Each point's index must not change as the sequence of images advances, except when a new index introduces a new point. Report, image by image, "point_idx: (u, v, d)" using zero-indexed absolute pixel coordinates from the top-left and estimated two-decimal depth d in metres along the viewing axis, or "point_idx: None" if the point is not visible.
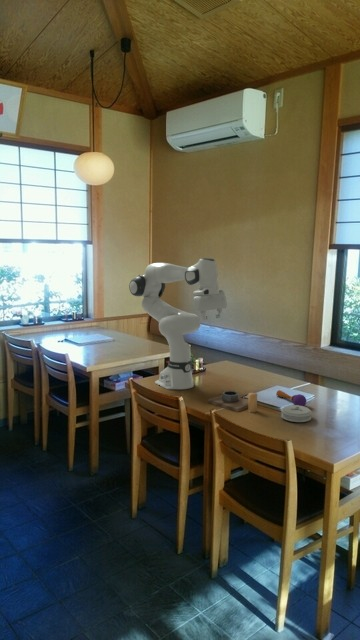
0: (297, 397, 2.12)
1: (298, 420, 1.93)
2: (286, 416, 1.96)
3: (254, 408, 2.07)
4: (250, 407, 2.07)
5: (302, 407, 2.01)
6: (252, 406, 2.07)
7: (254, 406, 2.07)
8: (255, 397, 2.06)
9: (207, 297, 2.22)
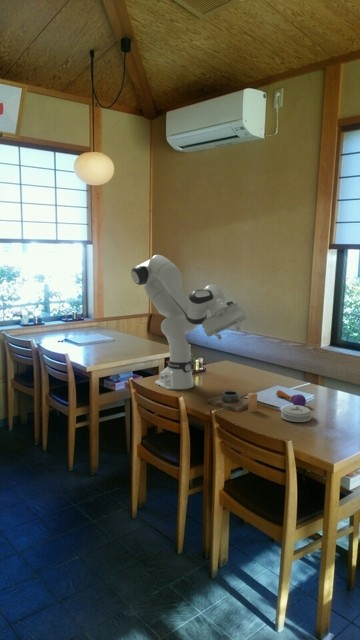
0: (296, 397, 2.12)
1: (298, 420, 1.93)
2: (286, 416, 1.96)
3: (254, 408, 2.07)
4: (250, 407, 2.07)
5: (302, 407, 2.01)
6: (252, 406, 2.07)
7: (254, 406, 2.07)
8: (255, 397, 2.06)
9: None
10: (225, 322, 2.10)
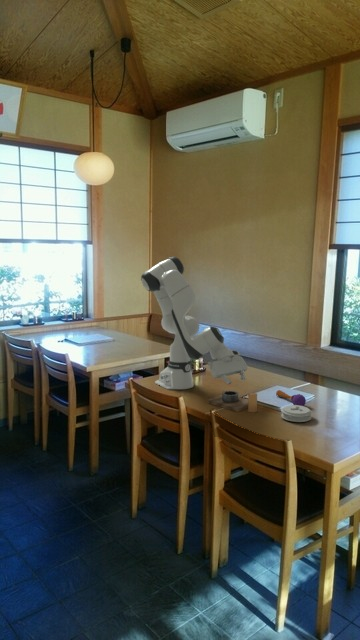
0: (296, 397, 2.13)
1: (298, 419, 1.93)
2: (286, 416, 1.96)
3: (254, 408, 2.07)
4: (250, 407, 2.07)
5: (302, 407, 2.01)
6: (252, 406, 2.07)
7: (254, 406, 2.07)
8: (255, 397, 2.06)
9: None
10: (233, 369, 2.15)
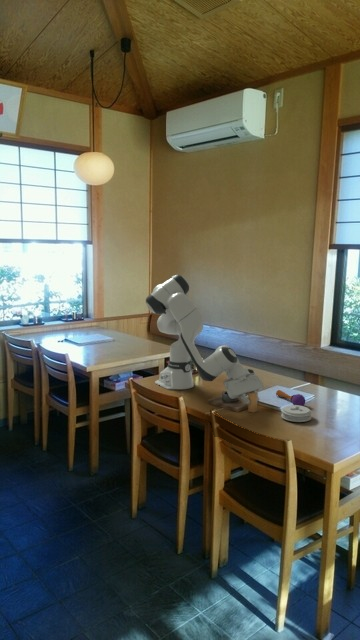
0: (296, 397, 2.13)
1: (299, 419, 1.93)
2: (286, 416, 1.96)
3: (254, 408, 2.07)
4: (250, 407, 2.07)
5: (302, 407, 2.01)
6: (252, 406, 2.07)
7: (254, 406, 2.07)
8: (255, 397, 2.06)
9: None
10: (250, 389, 2.10)
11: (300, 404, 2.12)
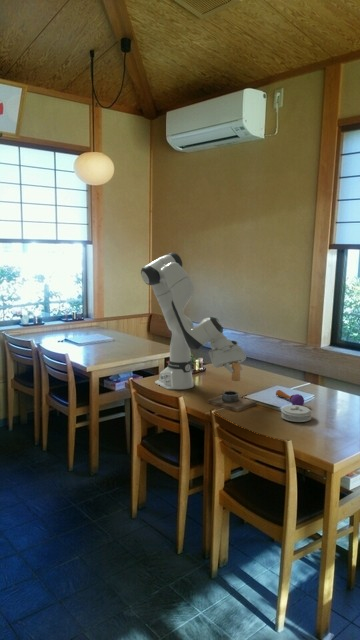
0: (295, 397, 2.13)
1: (299, 419, 1.93)
2: (286, 416, 1.96)
3: (237, 377, 2.16)
4: (234, 376, 2.16)
5: (302, 407, 2.01)
6: (235, 375, 2.16)
7: (237, 375, 2.16)
8: (238, 366, 2.15)
9: None
10: (233, 359, 2.19)
11: (299, 404, 2.12)
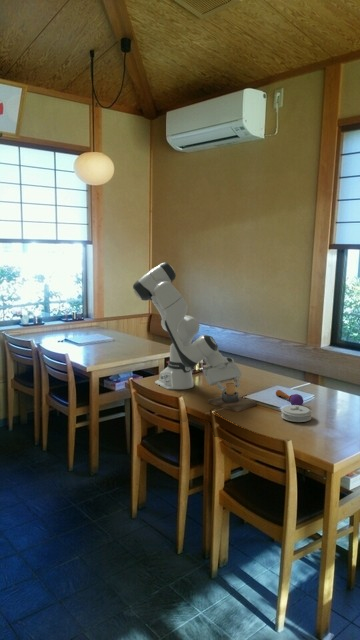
0: (294, 397, 2.13)
1: (299, 419, 1.93)
2: (286, 416, 1.96)
3: None
4: None
5: (302, 407, 2.01)
6: None
7: None
8: (233, 387, 2.17)
9: None
10: (228, 376, 2.20)
11: (298, 404, 2.12)
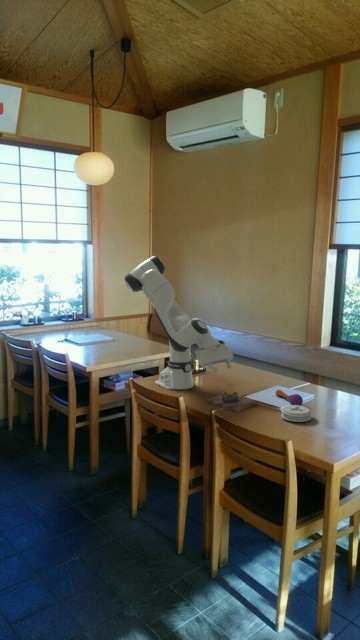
0: (293, 397, 2.13)
1: (299, 419, 1.93)
2: (286, 416, 1.96)
3: None
4: None
5: (302, 407, 2.01)
6: None
7: None
8: (233, 387, 2.17)
9: None
10: (219, 358, 2.24)
11: (297, 404, 2.12)
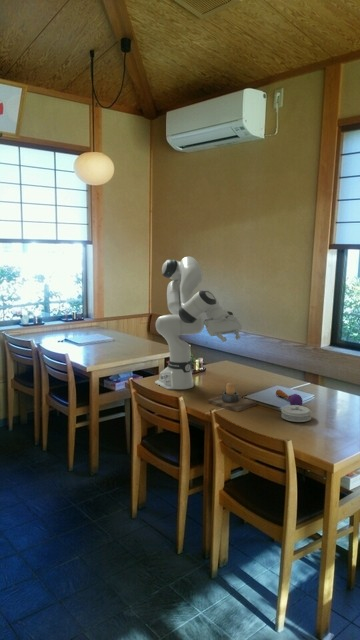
0: (293, 397, 2.13)
1: (299, 419, 1.93)
2: (286, 416, 1.96)
3: None
4: None
5: (302, 407, 2.01)
6: None
7: None
8: (233, 387, 2.17)
9: None
10: (228, 328, 2.24)
11: (297, 404, 2.12)
